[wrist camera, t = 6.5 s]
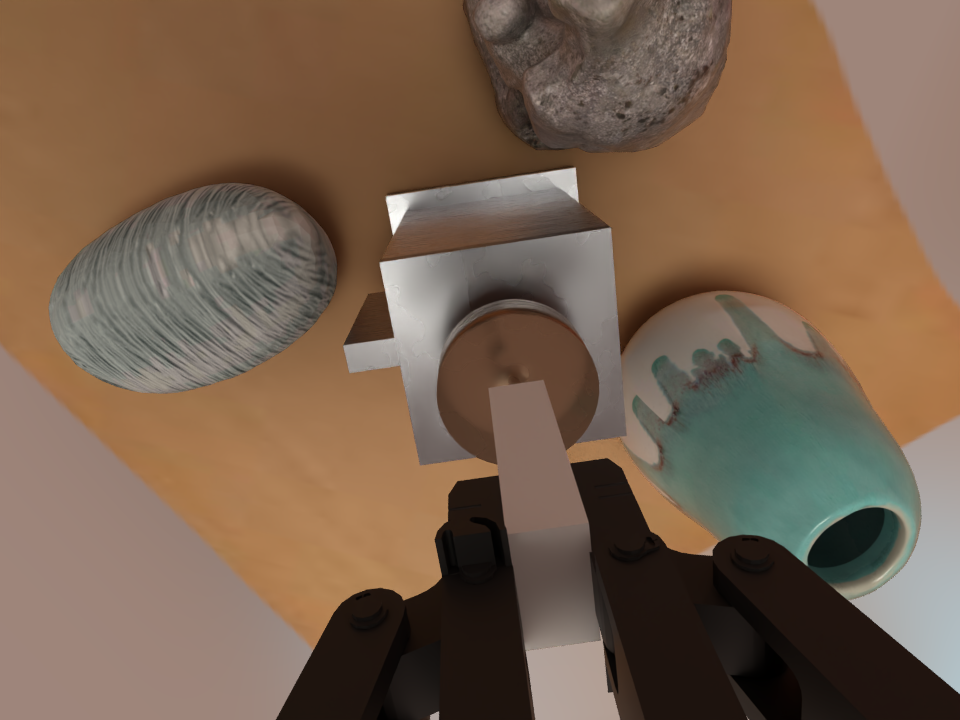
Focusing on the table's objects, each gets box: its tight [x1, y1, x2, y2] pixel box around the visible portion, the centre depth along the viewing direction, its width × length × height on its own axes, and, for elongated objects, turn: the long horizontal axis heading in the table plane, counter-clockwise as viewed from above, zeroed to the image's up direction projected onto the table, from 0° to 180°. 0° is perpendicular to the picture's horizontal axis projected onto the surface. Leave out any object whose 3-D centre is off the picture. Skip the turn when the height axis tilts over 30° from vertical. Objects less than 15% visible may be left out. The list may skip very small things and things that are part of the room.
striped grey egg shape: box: [49, 183, 337, 393], centre depth 34 cm, size 14×10×10 cm
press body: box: [343, 166, 627, 465], centre depth 31 cm, size 10×12×14 cm
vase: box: [619, 291, 921, 600], centre depth 32 cm, size 12×12×18 cm
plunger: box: [437, 299, 599, 464], centre depth 28 cm, size 6×6×13 cm
